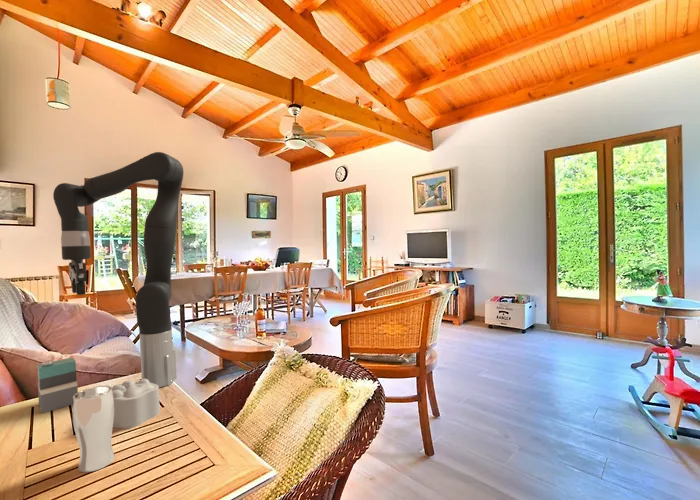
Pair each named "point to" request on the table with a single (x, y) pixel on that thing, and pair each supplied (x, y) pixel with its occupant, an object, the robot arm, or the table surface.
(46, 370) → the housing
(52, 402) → the stand
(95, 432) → the beer glass
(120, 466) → the table surface
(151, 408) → the lumpy-topped squat cylinder
